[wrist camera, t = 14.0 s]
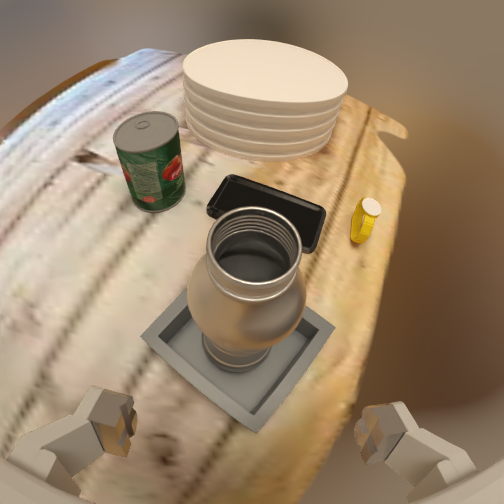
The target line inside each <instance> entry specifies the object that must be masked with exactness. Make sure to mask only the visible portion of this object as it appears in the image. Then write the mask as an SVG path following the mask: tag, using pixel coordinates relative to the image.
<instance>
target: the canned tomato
mask: <svg viewBox="0 0 504 504" xmlns="http://www.w3.org/2000/svg"><path fill="white" fill-rule="evenodd" d="M178 128H179V126H178V121H177V119H176V118H175V117H174V116H172V115H171V114H168V113H165V112H159V111H152V112H145V113H141V114H137V115H135V116H133V117H131V118H129V119H127V120H125V121H124V122H123V123H121V124H120V125H119V126H118V128H117V129H116V130H115V132H114V135H113V142H114V144H115V147H116V150H117V154H118V157H119V160H120V164H121V167H122V169H123V173H124V176H125V179H126V182H127V185H128V188H129V190H130V193H131V196H132V200H133V202H134V204H135V205H136V206H137V207H138V208H139V209H141V210H143V211H145V212H151V213H157V212H163V211H166V210H168V209H170V208H172V207H174V206H175V205H176V204H178V203H179V202H180V201H181V199H182V198H183V196H184V193H185V188H186V187H185V182H184V173H183V165H182V156H181V149H180V148H181V147H180V139H179V131H178Z"/></svg>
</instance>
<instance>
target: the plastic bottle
mask: <svg viewBox="0 0 504 504" xmlns="http://www.w3.org/2000/svg"><path fill="white" fill-rule="evenodd" d="M206 250H207V253H206V254H205V255H204V256H203V257H202V258H201V259H200V260H199V262H198V263H197V265H196V267H195V269H194V271H193V273H192V275H191V277H190V279H189V283H188V287H187V302H188V307H189V310H190V313H191V315H192V318H193V320H194V321H195V323H196V324H197V326H198V327H199V329H200V330H201V331H202V335H201V342H202V347H203V350H204V352H205V354H206V356H207V357H208V358H209V360H210V361H211V362H212V363H213V364H214V365H216V366H218V367H219V368H221V369H224V370H226V371H230V372H245V371H249V370H252V369H254V368H256V367H258V366H259V365H261V364H262V363H263V362H264V361H265V360H266V358H267V357H268V355H269V354H270V351H271V348H272V346H274V345H276V344H278V343H279V342H281V341H282V340H283V339H285V338H286V337H288V336H289V335H290V334H291V333H292V332H293V331H294V330H295V328H296V327H297V326H298V324H299V322H300V321H301V319H302V317H303V314H304V311H305V307H306V287H305V280H304V278H303V275H302V272H301V270H300V269H299V267H298V266H299V263H300V260H301V256H302V242H301V238H300V235H299V233H298V231H297V229H296V228H295V226H294V225H293V224H292V223H291V222H290V221H289V220H288V219H287V218H286V217H284V216H283V215H281V214H280V213H278V212H276V211H274V210H271V209H268V208H263V207H258V206H247V207H240V208H236V209H233V210H231V211H229V212H227V213H225V214H223V215H222V216H221V217H219V218H218V219H217V220H216V222H215V223H214V224H213V225H212V227H211V229H210V231H209V234H208V238H207V246H206Z"/></svg>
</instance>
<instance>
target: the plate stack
mask: <svg viewBox="0 0 504 504" xmlns="http://www.w3.org/2000/svg"><path fill="white" fill-rule="evenodd" d="M183 86H184V104H185V120H186V124H187V127H188V129H189V131H190V132H191V133H192V135H193V136H194V137H195V138H196V139H197V140H199V141H200V142H201V143H203V144H204V145H206V146H208V147H209V148H211V149H213V150H216V151H218V152H220V153H223V154H226V155H229V156H233V157H236V158H241V159H246V160H252V161H262V162H282V161H291V160H297V159H301V158H305V157H308V156H310V155H312V154H315V153H316V152H318V151H320V150H321V149H322V148H323V147H324V146H325V145H326V144H327V143H328V141H329V139H330V137H331V134H332V130H333V128H334V125H335V123H336V119H337V117H338V114H339V111H340V107H341V105H342V102H343V99H344V95H345V93H346V90H347V87H348V81H347V78H346V76H345V75H344V73H343V72H342V71H341V70H340V69H339V68H338V67H337V66H336V65H334V64H333V63H332V62H330V61H329V60H327V59H325V58H324V57H322V56H320V55H317V54H316V53H313V52H311V51H308V50H306V49H303V48H300V47H296V46H293V45H289V44H285V43H280V42H274V41H266V40H252V39H245V40H243V39H242V40H229V41H222V42H217V43H213V44H209V45H206V46H203V47H201V48H198V49H196V50H195V51H193V52H191V53H190V54H189V55H188V56H187V57H186V58H185V59H184V61H183Z"/></svg>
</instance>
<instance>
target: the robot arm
mask: <svg viewBox="0 0 504 504" xmlns="http://www.w3.org/2000/svg"><path fill="white" fill-rule="evenodd" d="M133 405H134V401H133V397H132V396H130V395H126V394H122V393H118V392H114V391H111V390H107V389H103V388H99V387H96V386H92V387H90V388H89V390H88V391H87V393H86V394H85V396H84V398H83V399H82V401H81V403H80V405H79V406H78V408H77V410H76V411H75V413H74V415H71V414H69V415H67V416H65V417H63V418H61V419H58V420H56V421H54V422H52V423H50V424H48V425H46V426H43V427H41V428H39V429H37V430H34V431H32V432H30V433H28V434H25V435H23V436H21V438H20V439H19V441H18V443H17V444H16V446H15V447H14V449H13V451H12V452H11V454H10V455H9V457H8V459H7V460H5V459H4V458H2V457H1V456H0V504H95V503H93V502H90V501H87V500H85V499H82V498H79V494H80V491H81V490H80V488H79V486H78V485H77V484H76V483H75V481H74V480H73V479H72V477H73V476H74V475H75V474H77V473H78V472H80V471H81V470H82V469H84V468H85V467H86V466H88V465H89V464H91V463H92V462H93V461H95V460H96V459H97V458H99V457H100V456H101V455H103V454H104V452H106V453H110V454H114V455H118V456H122V457H126V458H127V455H128V452H129V449H130V446H131V442H130V439H129V438H130V437H132V436H133V435H134V434H135V431H136V427H137V413H136V411H135V410H134V409H133V408H132V407H133ZM362 416H363V418H361V419H360V420H359V421H357V424H356V426H355V431H354V435H355V440H356V443H357V444H358V445H360V446H361V447H362V449H361V451H360V453H361V456H362V459H363V461H364V464H365V465H368V464H373V463H378V462H383V461H385V463H386V464H387V465H388V466H390V467H391V468H392V469H393V470H394V471H396V472H397V473H398V474H399V475H400V476H401V477H403V478H404V479H405V480H406V481H408V482H409V483H410V484H412V485H413V486H414V487H415V488H414V489H413V490H412V491H411V492H410V493H409V494H408V495H407V496H406V499H407V501H408V504H504V456H503V457H501V458H500V459H498V460H497V461H495V462H494V463H492V464H490V465H489V466H487V467H485V468H484V469H482V470H480V471H477V469H476V467H475V466H474V464H473V463H472V461H471V459H470V458H469V456H468V455H467V453H466V452H465V451H464V450H462V449H461V448H459V447H456V446H454V445H453V444H451V443H449V442H447V441H445V440H443V439H441V438H439V437H438V436H436V435H434V434H432V433H430V432H429V431H426V430H425V429H423V428H421V429H419V427H418V426H417V424H416V422H415V421H414V419H413V417H412V416H411V414H410V412H409V411H408V410H407V408H406V406H405V404H404V403H403V402H401V401H400V402H394V403H387V404H381V405H374V406H367V407H365V408H364V410H363V412H362Z"/></svg>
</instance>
